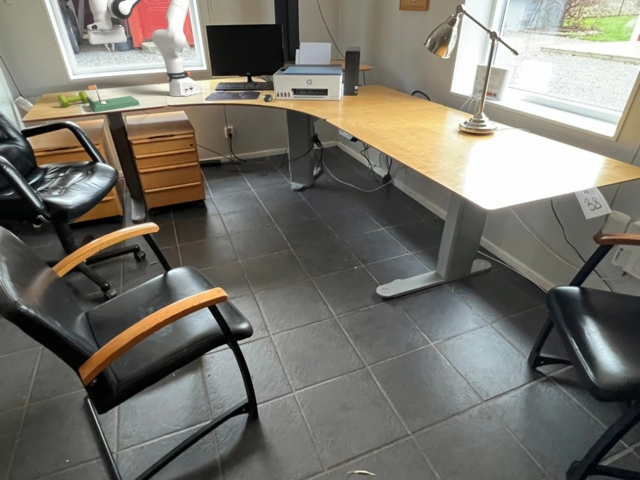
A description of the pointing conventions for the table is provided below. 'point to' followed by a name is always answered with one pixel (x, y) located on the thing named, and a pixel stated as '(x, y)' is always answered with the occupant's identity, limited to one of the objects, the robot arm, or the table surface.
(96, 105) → the putting mat
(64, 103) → the dumbbell
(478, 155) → the table surface
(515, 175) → the table surface
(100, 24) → the robot arm
